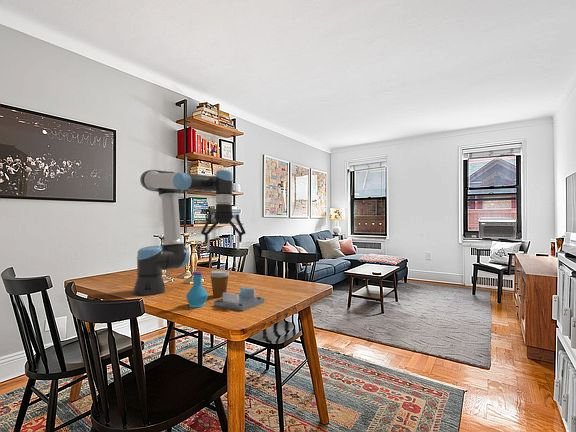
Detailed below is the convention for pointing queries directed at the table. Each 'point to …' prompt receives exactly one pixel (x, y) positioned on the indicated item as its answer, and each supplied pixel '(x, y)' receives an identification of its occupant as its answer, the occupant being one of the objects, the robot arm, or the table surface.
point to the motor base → (239, 300)
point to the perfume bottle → (197, 291)
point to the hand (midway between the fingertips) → (223, 249)
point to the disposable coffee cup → (219, 282)
